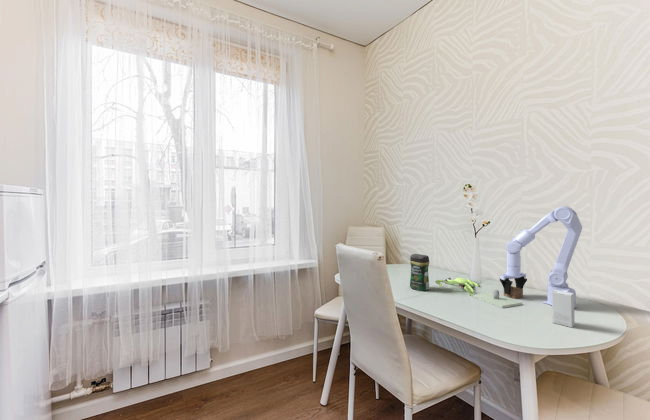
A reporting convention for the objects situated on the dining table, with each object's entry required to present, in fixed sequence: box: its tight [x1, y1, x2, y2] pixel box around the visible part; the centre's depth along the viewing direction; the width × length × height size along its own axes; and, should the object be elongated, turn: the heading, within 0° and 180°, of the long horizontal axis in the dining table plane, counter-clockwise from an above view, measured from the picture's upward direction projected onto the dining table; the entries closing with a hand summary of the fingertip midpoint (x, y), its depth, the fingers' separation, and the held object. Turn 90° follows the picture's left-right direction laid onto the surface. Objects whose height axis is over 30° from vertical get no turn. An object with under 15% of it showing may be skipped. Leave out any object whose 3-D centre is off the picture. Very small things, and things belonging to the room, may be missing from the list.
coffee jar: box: [409, 253, 430, 292], centre depth 156 cm, size 10×8×19 cm
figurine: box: [434, 277, 481, 297], centre depth 157 cm, size 18×27×6 cm
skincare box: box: [551, 290, 576, 328], centre depth 110 cm, size 6×4×12 cm
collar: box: [503, 285, 524, 300], centre depth 142 cm, size 6×6×4 cm
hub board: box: [472, 289, 523, 309], centre depth 136 cm, size 16×12×5 cm
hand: (513, 293), depth 142 cm, fingers open, 7 cm apart
